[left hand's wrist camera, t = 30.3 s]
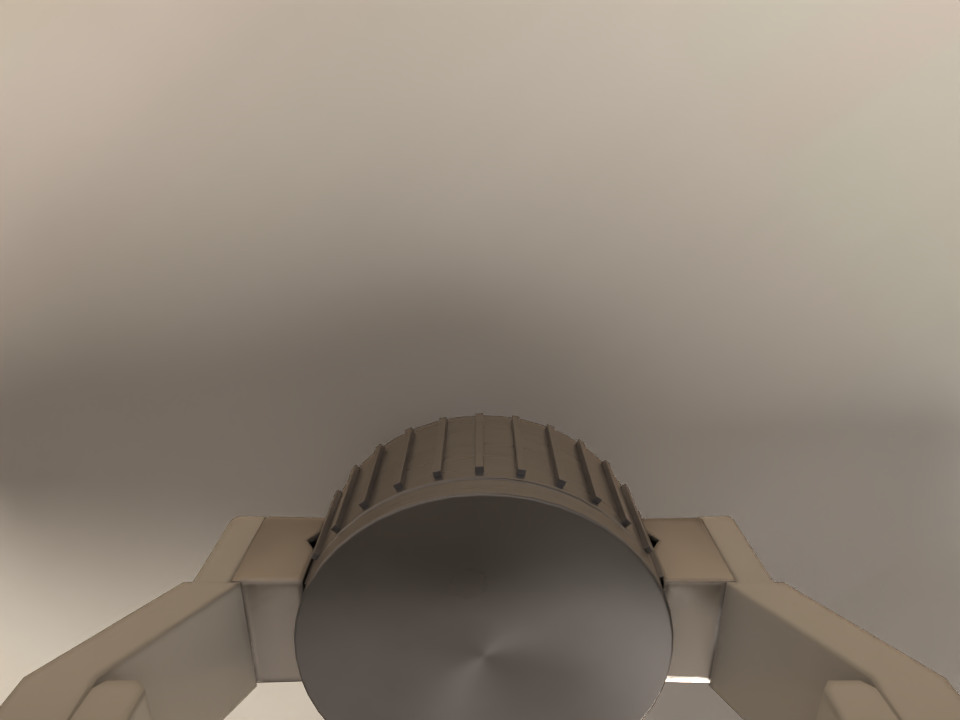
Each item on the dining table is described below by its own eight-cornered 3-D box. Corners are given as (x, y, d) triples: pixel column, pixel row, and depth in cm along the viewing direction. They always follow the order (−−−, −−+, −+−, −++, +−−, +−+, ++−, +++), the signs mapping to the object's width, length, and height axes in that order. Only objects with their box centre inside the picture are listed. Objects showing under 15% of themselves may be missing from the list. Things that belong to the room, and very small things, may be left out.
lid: (258, 508, 10) (205, 604, 8) (543, 348, 9) (562, 413, 7) (435, 712, 12) (426, 835, 10) (694, 595, 11) (743, 704, 9)
